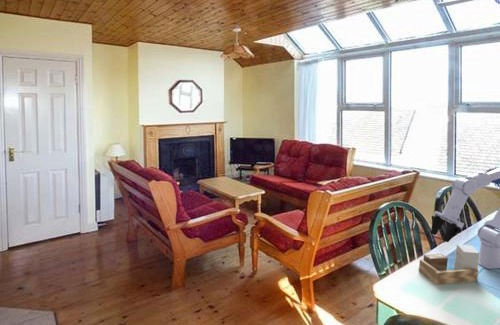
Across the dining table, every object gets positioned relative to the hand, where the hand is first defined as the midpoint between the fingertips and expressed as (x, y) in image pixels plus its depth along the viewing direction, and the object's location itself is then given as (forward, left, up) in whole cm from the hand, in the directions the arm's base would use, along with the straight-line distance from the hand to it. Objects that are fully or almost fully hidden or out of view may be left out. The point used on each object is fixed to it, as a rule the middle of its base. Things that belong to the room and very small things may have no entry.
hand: (439, 237), depth 149 cm
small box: (-8, +6, -13) cm, 17 cm away
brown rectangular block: (+1, 0, -13) cm, 13 cm away
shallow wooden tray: (0, +7, -13) cm, 15 cm away
